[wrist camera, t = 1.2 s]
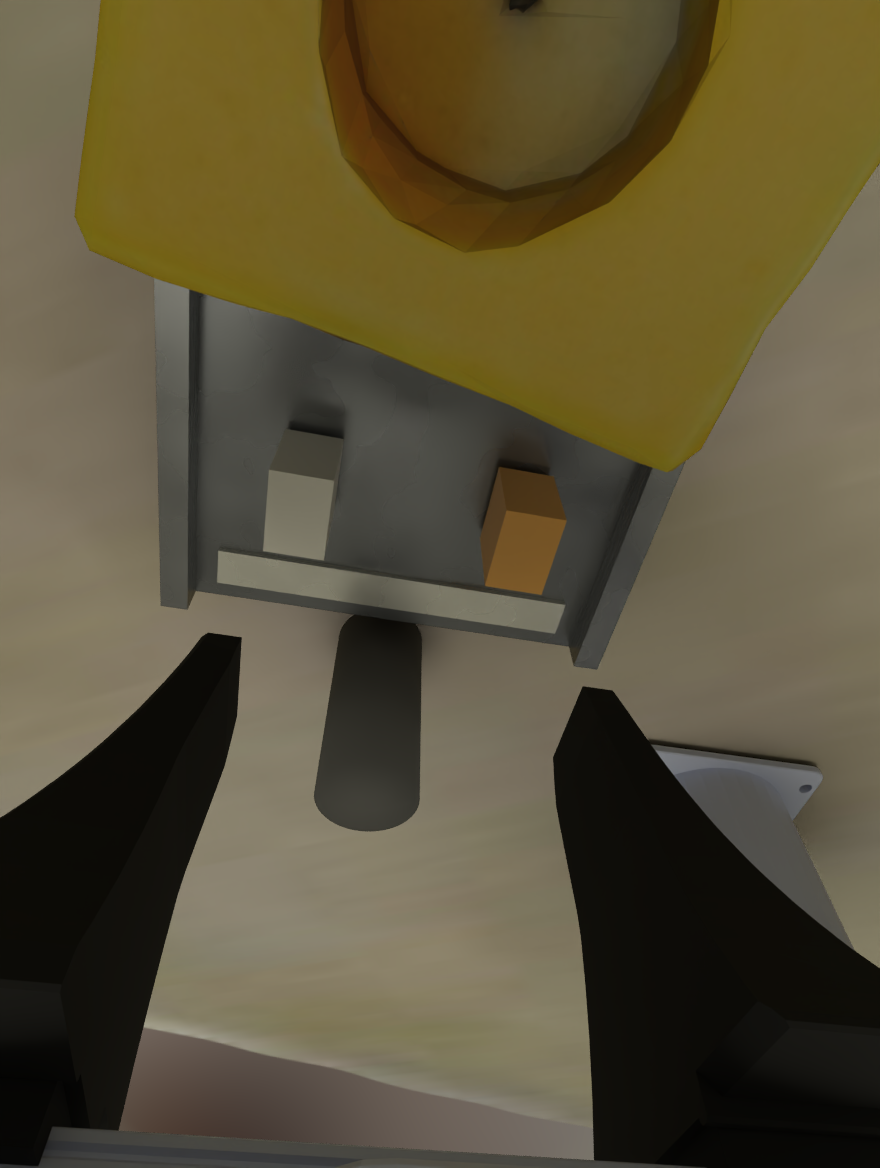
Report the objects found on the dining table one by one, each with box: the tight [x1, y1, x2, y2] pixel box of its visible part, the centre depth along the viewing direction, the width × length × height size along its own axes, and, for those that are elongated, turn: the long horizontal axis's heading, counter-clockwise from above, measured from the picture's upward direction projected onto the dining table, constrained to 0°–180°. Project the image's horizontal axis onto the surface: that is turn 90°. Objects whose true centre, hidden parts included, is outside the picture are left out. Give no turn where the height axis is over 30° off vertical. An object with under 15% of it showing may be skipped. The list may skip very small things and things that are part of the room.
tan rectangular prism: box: [480, 467, 567, 595], centre depth 21 cm, size 2×2×2 cm
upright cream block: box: [263, 429, 344, 561], centre depth 20 cm, size 2×2×2 cm
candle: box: [75, 0, 880, 472], centre depth 13 cm, size 10×10×10 cm
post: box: [314, 615, 422, 831], centre depth 24 cm, size 3×3×7 cm
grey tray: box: [154, 278, 685, 669], centre depth 22 cm, size 10×14×2 cm
